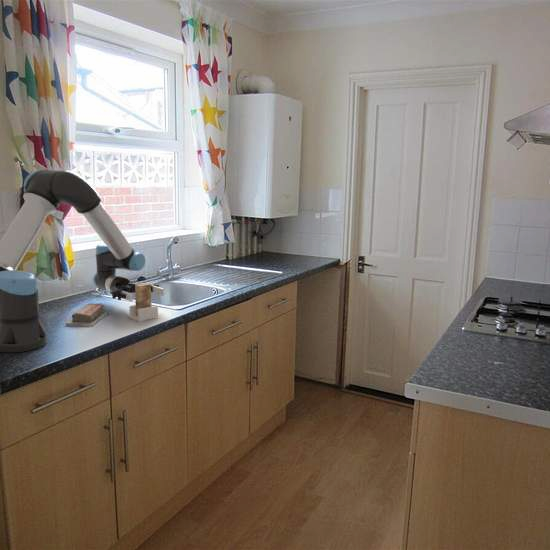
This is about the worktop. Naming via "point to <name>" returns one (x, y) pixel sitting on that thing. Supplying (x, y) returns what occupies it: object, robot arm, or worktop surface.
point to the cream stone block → (143, 313)
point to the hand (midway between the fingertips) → (147, 294)
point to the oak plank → (142, 296)
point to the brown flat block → (87, 315)
